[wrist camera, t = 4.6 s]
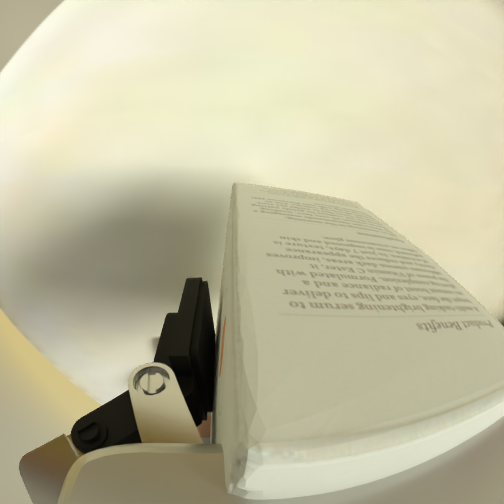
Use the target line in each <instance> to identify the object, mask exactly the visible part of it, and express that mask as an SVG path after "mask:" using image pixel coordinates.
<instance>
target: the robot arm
mask: <svg viewBox="0 0 504 504" xmlns="http://www.w3.org/2000/svg"><path fill="white" fill-rule="evenodd" d="M215 346H216V338H215V330H214V324H213V317H212V310H211V303H210V296H209V288H208V282H207V281H202V278H187V279H186V283H185V286H184V290H183V294H182V298H181V302H180V306H179V310H178V313H168V314H167V315H166V318H165V321H164V325H163V328H162V332H161V336H160V339H159V343H158V347H157V350H156V354H155V358H154V362H152V363H146V364H143V365H141V366H139V367H138V368H136V369H135V370H134V371H133V372H132V373H131V374H130V377H129V379H128V388H129V390H128V391H126V392H124V393H123V394H121V395H119V396H118V397H116V398H114V399H113V400H111V401H109V402H107V403H106V404H104V405H102V406H101V407H99V408H97V409H96V410H94V411H92V412H90V413H89V414H87V415H85V416H83V417H81V418H80V419H79V420H78V421H76V423H75V424H74V426H73V428H72V431H71V434H70V435H68V436H66V435H65V434H63V435H61V436H59V437H57V438H55V439H53V440H52V441H50V442H48V443H46V444H44V445H42V446H40V447H39V448H36V449H35V450H33V451H31V452H29V453H27V454H25V455H24V456H23V457H22V459H21V460H20V463H19V471H20V475H21V477H22V479H23V482H24V484H25V487H26V489H27V491H28V493H29V495H30V498H31V500H32V502H33V503H34V504H504V416H503V417H502V418H500V419H499V420H498V421H496V422H495V423H493V424H492V425H490V426H489V427H487V428H486V429H484V430H483V431H481V432H479V433H478V434H476V435H475V436H473V437H471V438H470V439H468V440H466V441H465V442H463V443H461V444H459V445H458V446H456V447H454V448H452V449H450V450H448V451H446V452H444V453H442V454H440V455H438V456H436V457H434V458H432V459H430V460H428V461H426V462H424V463H421V464H419V465H417V466H415V467H412V468H410V469H407V470H405V471H402V472H399V473H397V474H394V475H391V476H388V477H385V478H382V479H379V480H376V481H373V482H370V483H366V484H363V485H359V486H355V487H351V488H347V489H343V490H339V491H334V492H329V493H324V494H318V495H311V496H304V497H295V498H286V499H268V500H257V499H246V498H242V497H239V496H237V495H233V494H230V493H227V489H226V485H225V469H224V453H223V448H222V445H221V444H204V443H203V440H202V438H201V436H200V434H199V432H198V430H197V428H196V427H198V426H199V425H200V424H202V421H207V412H212V411H213V388H214V367H215Z"/></svg>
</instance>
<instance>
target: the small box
mask: <svg viewBox="0 0 504 504" xmlns="http://www.w3.org/2000/svg"><path fill="white" fill-rule="evenodd" d="M503 416H504V327H503V326H502V324H501V323H500V322H499V321H498V320H497V319H496V318H495V317H494V316H493V315H492V314H491V313H490V312H489V311H488V310H487V309H486V308H485V307H484V306H483V305H482V304H481V303H480V302H479V301H478V300H477V299H476V298H475V297H473V296H472V295H471V294H470V293H469V292H468V291H467V290H466V289H465V288H464V287H463V286H461V285H460V284H459V283H458V282H457V281H456V280H455V279H454V278H453V277H452V276H450V275H449V274H448V273H447V272H446V271H445V270H444V269H443V268H442V267H440V266H439V265H438V264H437V263H436V262H435V261H434V260H433V259H431V258H430V257H429V256H428V255H427V254H425V253H424V252H423V251H422V250H420V249H419V248H418V247H416V246H415V245H414V244H412V243H411V242H410V241H409V240H407V239H406V238H405V237H404V236H402V235H401V234H400V233H398V232H397V231H396V230H394V229H393V228H392V227H390V226H389V225H388V224H386V223H385V222H384V221H383V220H381V219H380V218H378V217H377V216H376V215H374V214H373V213H371V212H370V211H369V210H367V209H366V208H364V207H363V206H361V205H360V204H358V203H357V202H353V201H349V200H344V199H340V198H335V197H330V196H324V195H319V194H313V193H307V192H301V191H295V190H289V189H282V188H276V187H269V186H262V185H253V184H245V183H234V184H233V187H232V195H231V203H230V211H229V220H228V227H227V236H226V244H225V253H224V262H223V271H222V280H221V289H220V298H219V308H218V318H217V328H216V346H215V367H214V388H213V411H212V412H211V441H210V444H221V445H222V448H223V453H224V469H225V485H226V489H227V493H230V494H233V495H237V496H239V497H242V498H246V499H257V500H268V499H286V498H295V497H304V496H311V495H318V494H324V493H329V492H334V491H339V490H343V489H347V488H351V487H355V486H359V485H363V484H366V483H370V482H373V481H376V480H379V479H382V478H385V477H388V476H391V475H394V474H397V473H399V472H402V471H405V470H407V469H410V468H412V467H415V466H417V465H419V464H421V463H424V462H426V461H428V460H430V459H432V458H434V457H436V456H438V455H440V454H442V453H444V452H446V451H448V450H450V449H452V448H454V447H456V446H458V445H459V444H461V443H463V442H465V441H466V440H468V439H470V438H471V437H473V436H475V435H476V434H478V433H479V432H481V431H483V430H484V429H486V428H487V427H489V426H490V425H492V424H493V423H495V422H496V421H498V420H499V419H500V418H502V417H503Z"/></svg>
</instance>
